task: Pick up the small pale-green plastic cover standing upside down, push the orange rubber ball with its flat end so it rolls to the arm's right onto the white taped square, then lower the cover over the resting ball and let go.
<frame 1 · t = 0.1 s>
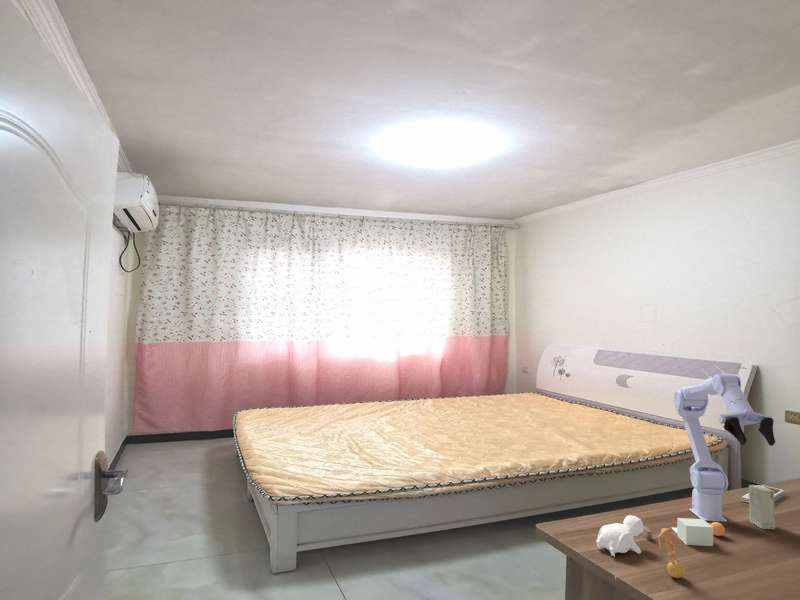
hand: (758, 443, 144), 32 cm above the table, tool tilted 50°, fingers open, 7 cm apart
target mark: (690, 534, 157), on the table
skincare box: (761, 526, 165), on the table
ball: (717, 529, 157), on the table
figurine: (672, 576, 132), on the table
cover: (694, 541, 152), on the table
white crawling baby figure: (621, 550, 147), on the table
stopper: (641, 531, 159), on the table
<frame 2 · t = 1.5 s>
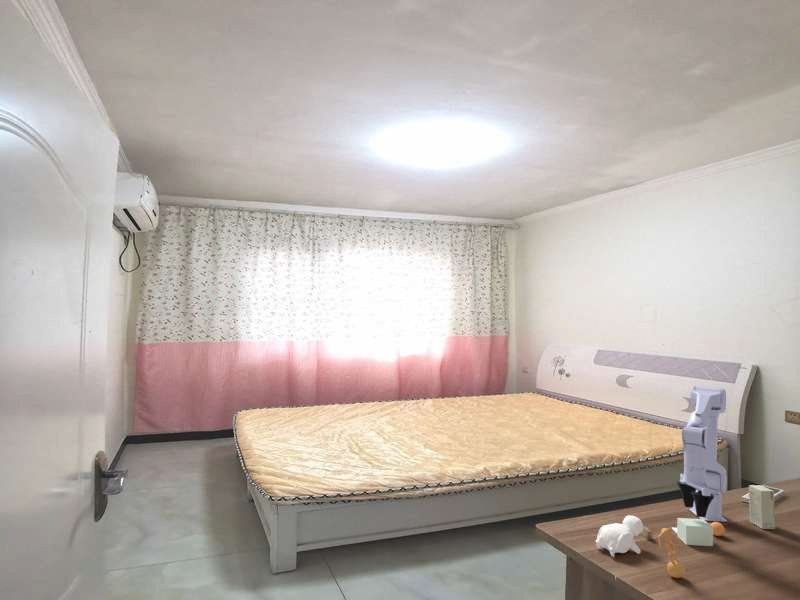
hand: (694, 511, 153), 9 cm above the table, tool pointing down, fingers open, 7 cm apart
nothing on the table moved.
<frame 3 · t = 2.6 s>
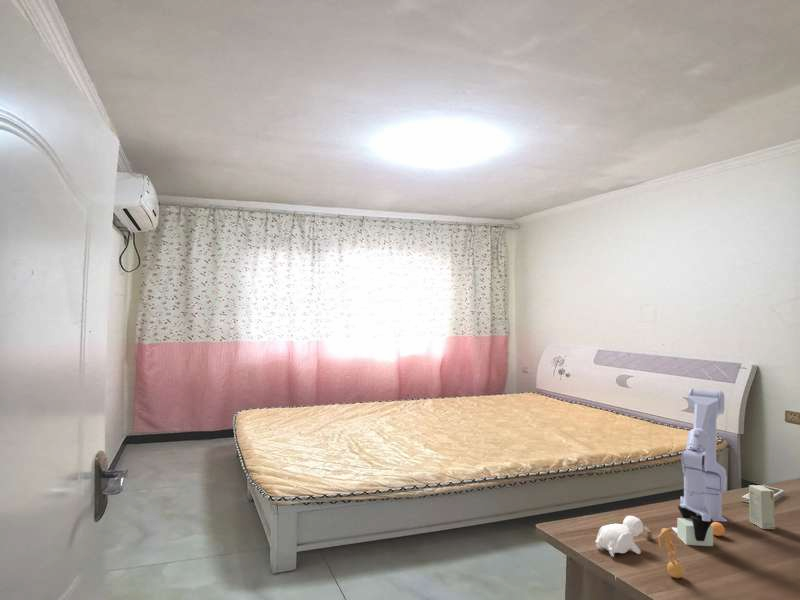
hand: (694, 535, 152), 2 cm above the table, tool pointing down, fingers closed on cover, 6 cm apart
cover: (694, 541, 152), on the table, touching gripper
everything else where it was.
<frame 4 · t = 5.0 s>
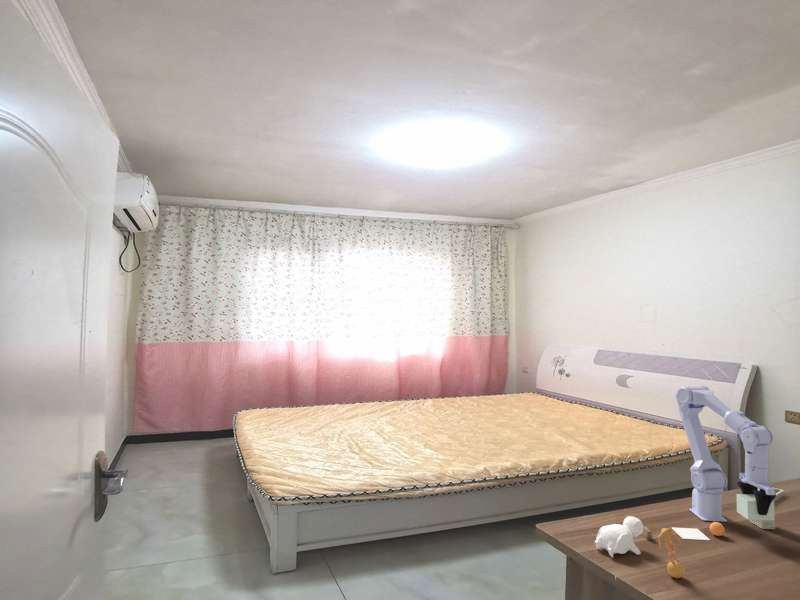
hand: (756, 510, 154), 9 cm above the table, tool pointing down, fingers closed on cover, 6 cm apart
cover: (755, 516, 154), point 7 cm above the table, touching gripper
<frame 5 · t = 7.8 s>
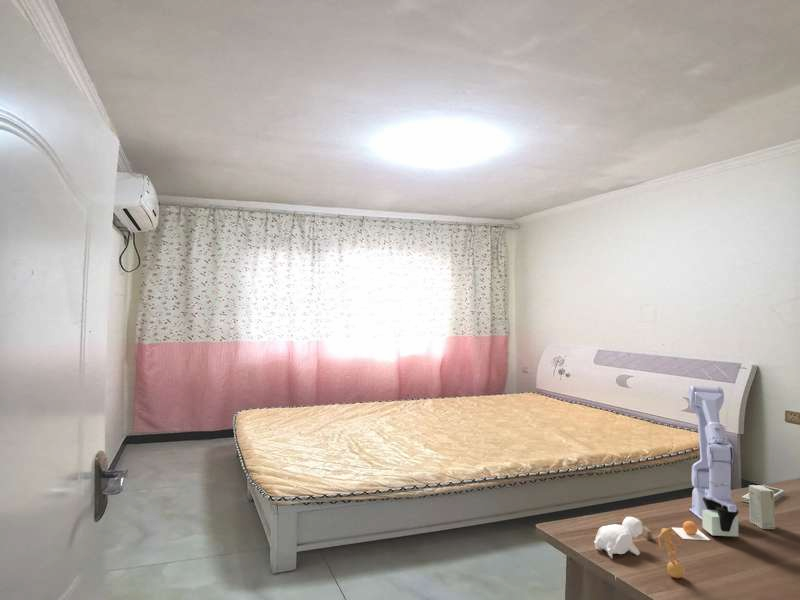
hand: (719, 526, 156), 3 cm above the table, tool pointing down, fingers closed on cover, 6 cm apart
ball: (690, 527, 157), on the table
cover: (720, 531, 156), point 1 cm above the table, touching gripper
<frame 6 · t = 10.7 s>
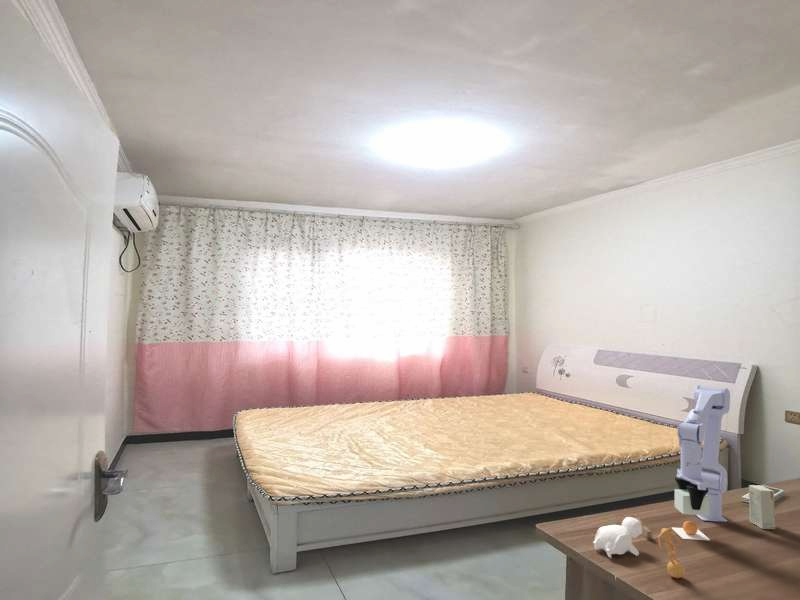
hand: (690, 505, 157), 9 cm above the table, tool pointing down, fingers closed on cover, 6 cm apart
cover: (691, 511, 157), point 7 cm above the table, touching gripper
when the fingers open (2 cm above the table, at t = 13.3 s): cover stays where it is, on the table.
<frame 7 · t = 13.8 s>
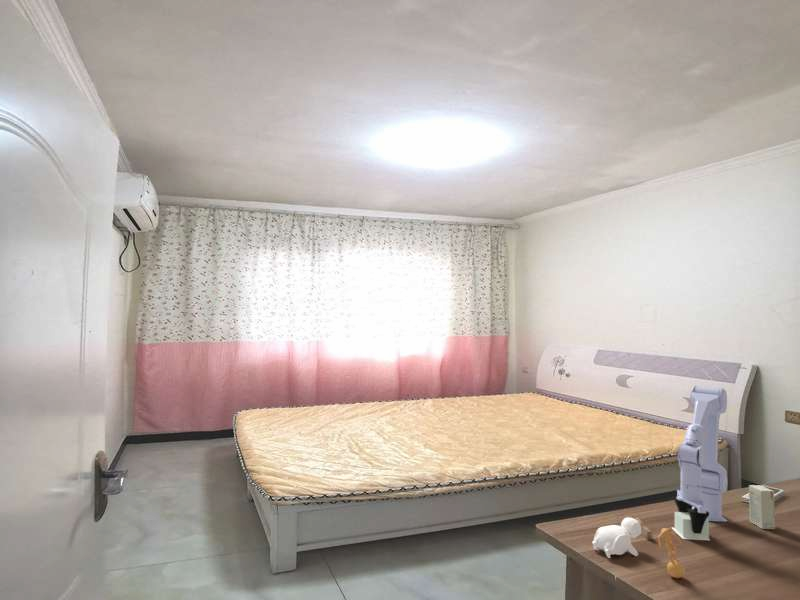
hand: (690, 527, 157), 2 cm above the table, tool pointing down, fingers open, 7 cm apart
cover: (691, 534, 157), on the table
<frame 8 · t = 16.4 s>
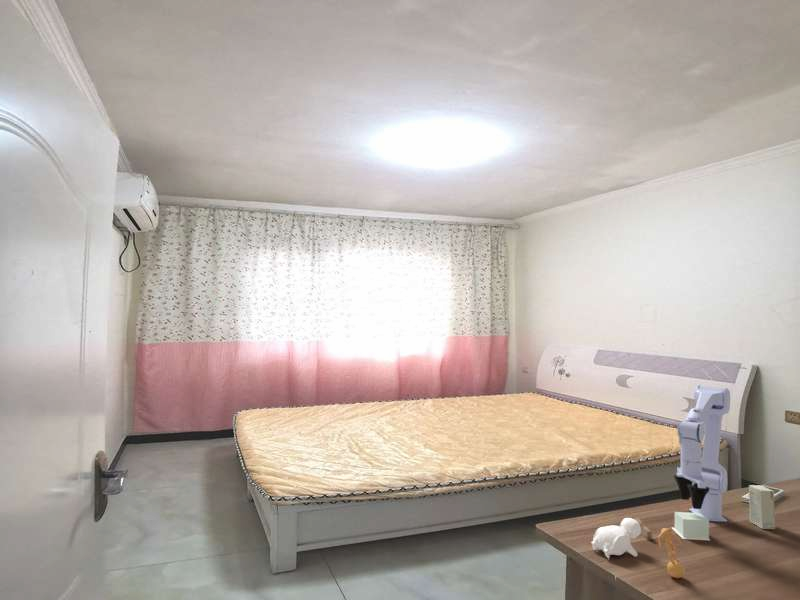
hand: (690, 503, 157), 9 cm above the table, tool pointing down, fingers open, 7 cm apart
at the end: ball 0.4 cm from the cover (horizontally); cover on the table; ball moved 8.1 cm from its start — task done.
